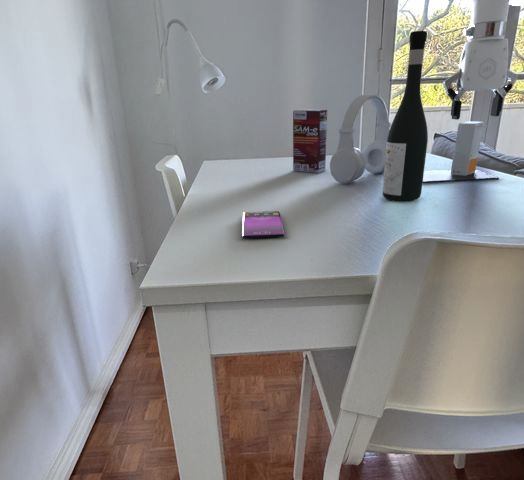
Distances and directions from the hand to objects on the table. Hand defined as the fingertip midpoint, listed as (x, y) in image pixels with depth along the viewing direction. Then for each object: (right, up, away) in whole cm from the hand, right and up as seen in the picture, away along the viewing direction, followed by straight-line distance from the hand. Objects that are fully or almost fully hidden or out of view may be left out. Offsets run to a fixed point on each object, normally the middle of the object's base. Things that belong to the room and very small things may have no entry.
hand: (475, 117), depth 114 cm
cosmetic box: (0, -11, +7) cm, 13 cm away
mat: (-5, -12, +7) cm, 15 cm away
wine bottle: (-22, -24, -13) cm, 35 cm away
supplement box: (-38, -5, +22) cm, 44 cm away
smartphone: (-52, -34, -29) cm, 68 cm away
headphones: (-25, -11, +10) cm, 29 cm away
